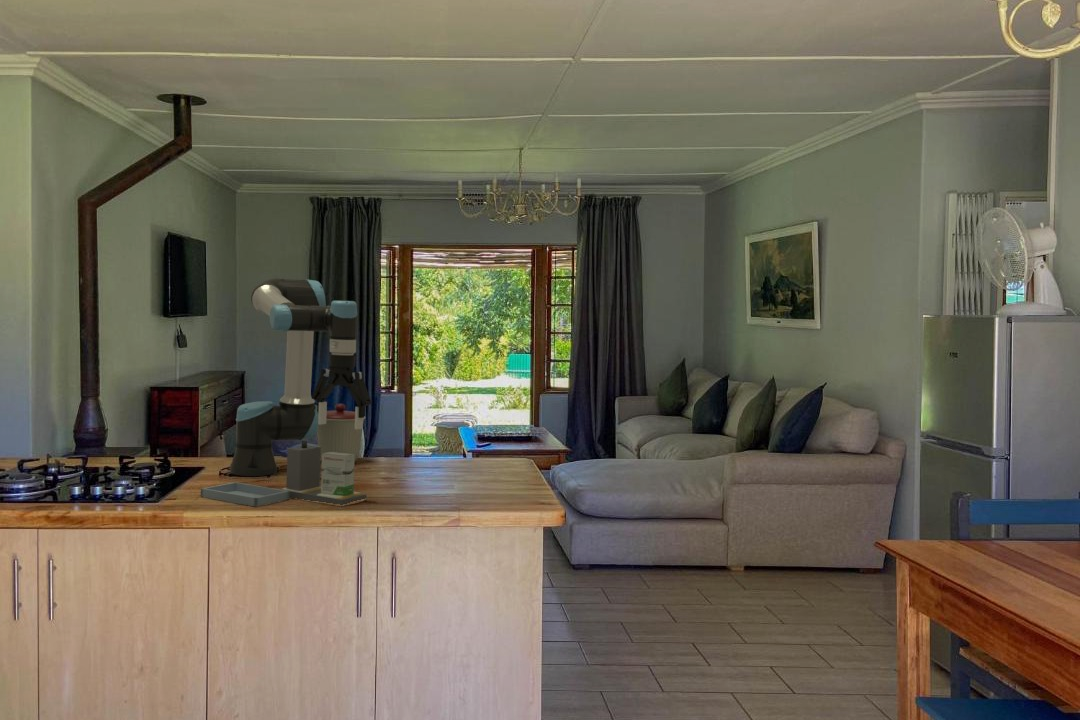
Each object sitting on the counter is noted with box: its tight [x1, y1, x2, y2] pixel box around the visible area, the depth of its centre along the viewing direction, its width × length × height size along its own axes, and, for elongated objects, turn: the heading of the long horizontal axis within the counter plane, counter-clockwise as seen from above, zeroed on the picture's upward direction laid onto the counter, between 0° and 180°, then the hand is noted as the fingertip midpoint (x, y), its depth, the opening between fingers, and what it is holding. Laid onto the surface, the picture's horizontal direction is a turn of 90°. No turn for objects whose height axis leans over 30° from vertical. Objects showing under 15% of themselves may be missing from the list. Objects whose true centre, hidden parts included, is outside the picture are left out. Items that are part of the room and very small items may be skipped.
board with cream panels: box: [279, 485, 368, 505], centre depth 304 cm, size 24×11×2 cm, turn 61°
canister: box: [316, 403, 366, 463], centre depth 368 cm, size 18×18×21 cm
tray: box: [200, 481, 291, 508], centre depth 300 cm, size 22×14×2 cm, turn 61°
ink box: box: [320, 452, 355, 496], centre depth 301 cm, size 9×5×12 cm, turn 69°
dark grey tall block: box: [285, 440, 321, 491], centre depth 307 cm, size 5×9×14 cm, turn 151°
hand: (340, 426), depth 300 cm, fingers open, 13 cm apart
